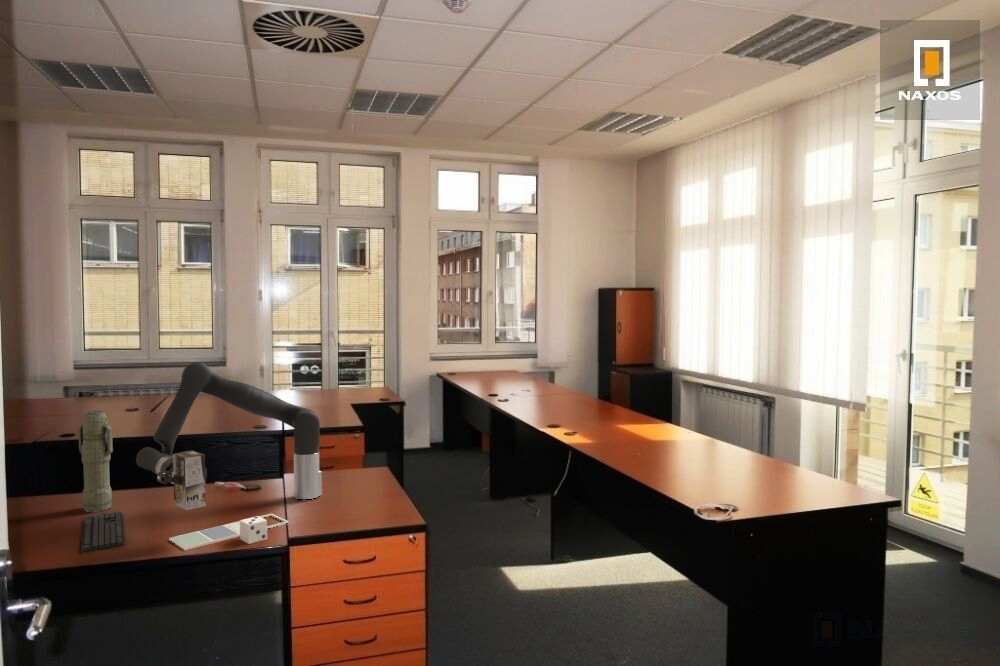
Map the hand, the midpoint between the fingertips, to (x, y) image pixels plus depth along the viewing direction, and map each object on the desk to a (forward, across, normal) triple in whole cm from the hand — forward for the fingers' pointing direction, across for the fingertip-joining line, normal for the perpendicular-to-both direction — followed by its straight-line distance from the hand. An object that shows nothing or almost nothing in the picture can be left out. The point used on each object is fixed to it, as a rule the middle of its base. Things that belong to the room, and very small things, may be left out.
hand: (192, 479), depth 211 cm
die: (+10, +15, +20) cm, 27 cm away
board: (-2, +13, +20) cm, 24 cm away
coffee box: (-2, 0, +9) cm, 9 cm away
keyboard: (-31, -16, +21) cm, 41 cm away
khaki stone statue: (-59, -10, +21) cm, 63 cm away
